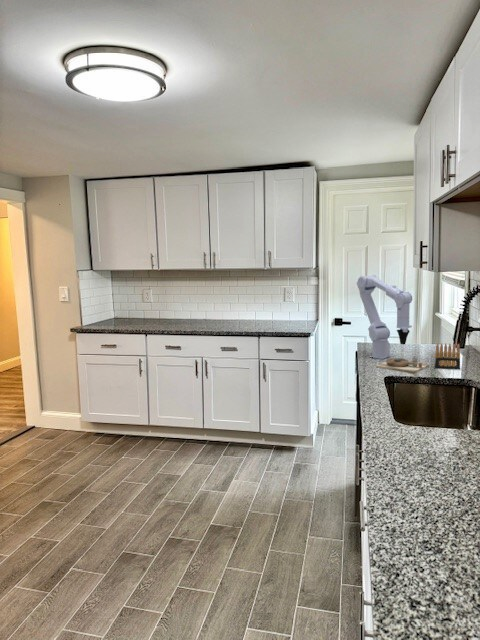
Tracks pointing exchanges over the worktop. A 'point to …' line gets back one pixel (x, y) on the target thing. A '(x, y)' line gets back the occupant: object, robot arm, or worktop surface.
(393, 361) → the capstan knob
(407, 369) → the board
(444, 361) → the ammunition clip
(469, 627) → the worktop surface
